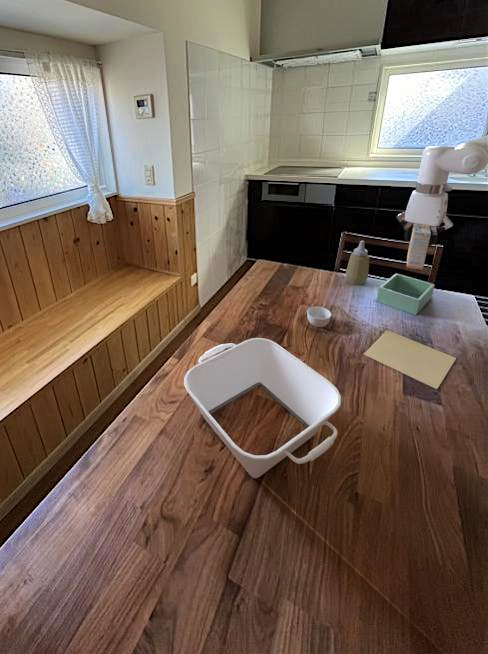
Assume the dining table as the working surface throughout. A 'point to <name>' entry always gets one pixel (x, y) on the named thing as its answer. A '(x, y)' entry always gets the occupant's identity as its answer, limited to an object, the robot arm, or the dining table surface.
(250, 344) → the tub
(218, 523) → the dining table surface
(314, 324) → the teacup
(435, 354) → the mat
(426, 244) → the supplement box
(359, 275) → the squeeze bottle
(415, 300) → the box
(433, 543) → the dining table surface
